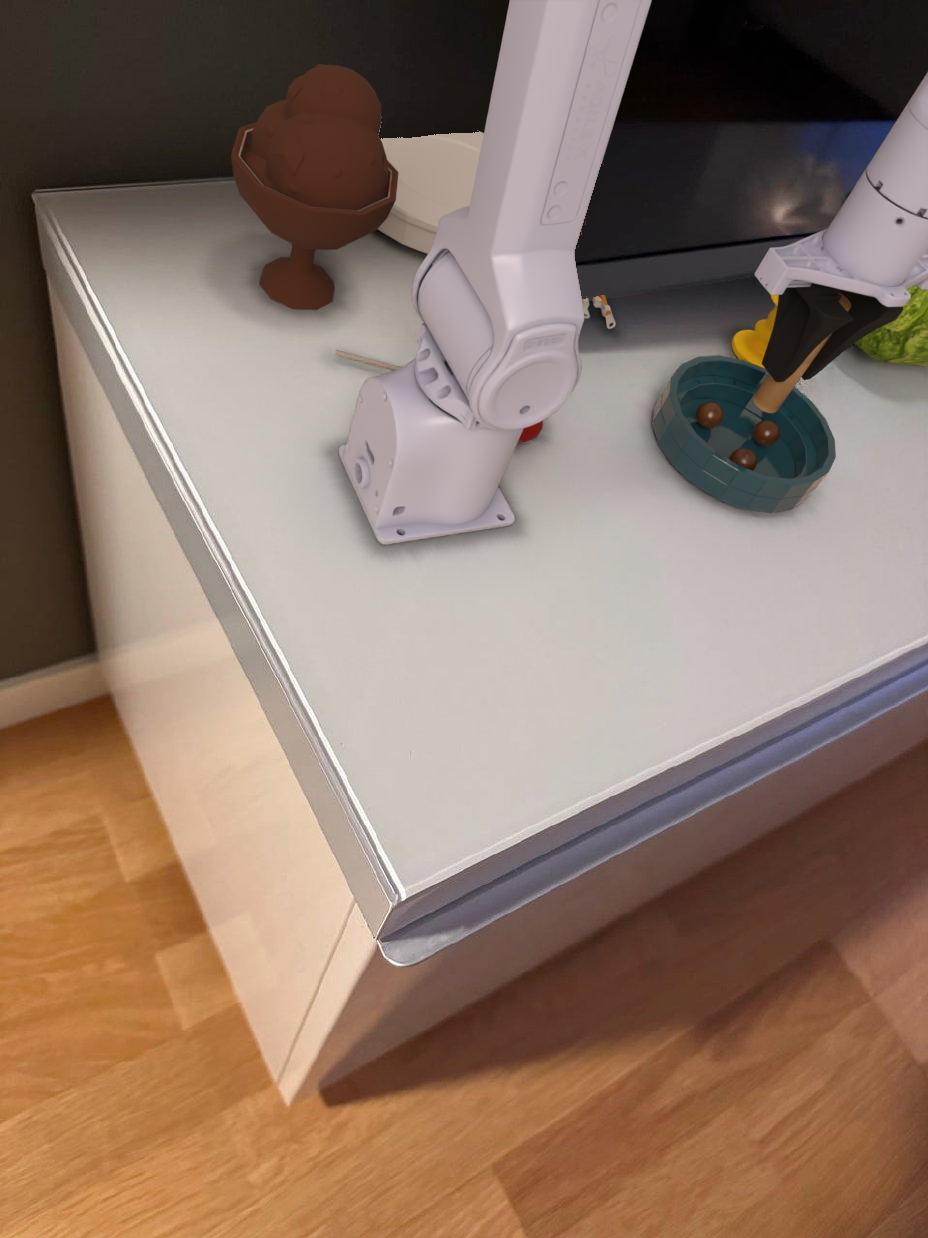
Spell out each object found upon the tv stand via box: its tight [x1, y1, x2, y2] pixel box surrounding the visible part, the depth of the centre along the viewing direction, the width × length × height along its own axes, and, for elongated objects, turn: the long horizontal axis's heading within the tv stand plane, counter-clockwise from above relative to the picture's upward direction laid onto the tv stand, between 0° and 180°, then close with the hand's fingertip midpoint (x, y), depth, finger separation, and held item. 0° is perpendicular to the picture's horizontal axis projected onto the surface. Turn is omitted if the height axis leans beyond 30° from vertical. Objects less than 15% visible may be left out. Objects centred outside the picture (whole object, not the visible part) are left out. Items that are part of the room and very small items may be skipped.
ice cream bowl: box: [230, 63, 399, 311], centre depth 64 cm, size 11×11×15 cm
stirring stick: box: [753, 293, 851, 413], centre depth 65 cm, size 2×2×9 cm
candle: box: [731, 295, 778, 368], centre depth 75 cm, size 5×5×16 cm
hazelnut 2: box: [729, 448, 757, 471], centre depth 70 cm, size 2×2×2 cm
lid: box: [377, 131, 484, 255], centre depth 81 cm, size 17×20×3 cm
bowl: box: [651, 354, 837, 514], centre depth 71 cm, size 13×13×4 cm
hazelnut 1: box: [696, 402, 723, 429], centre depth 72 cm, size 2×2×2 cm
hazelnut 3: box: [752, 420, 780, 447], centre depth 72 cm, size 2×2×2 cm
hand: (785, 371), depth 66 cm, fingers closed on stirring stick, 2 cm apart
